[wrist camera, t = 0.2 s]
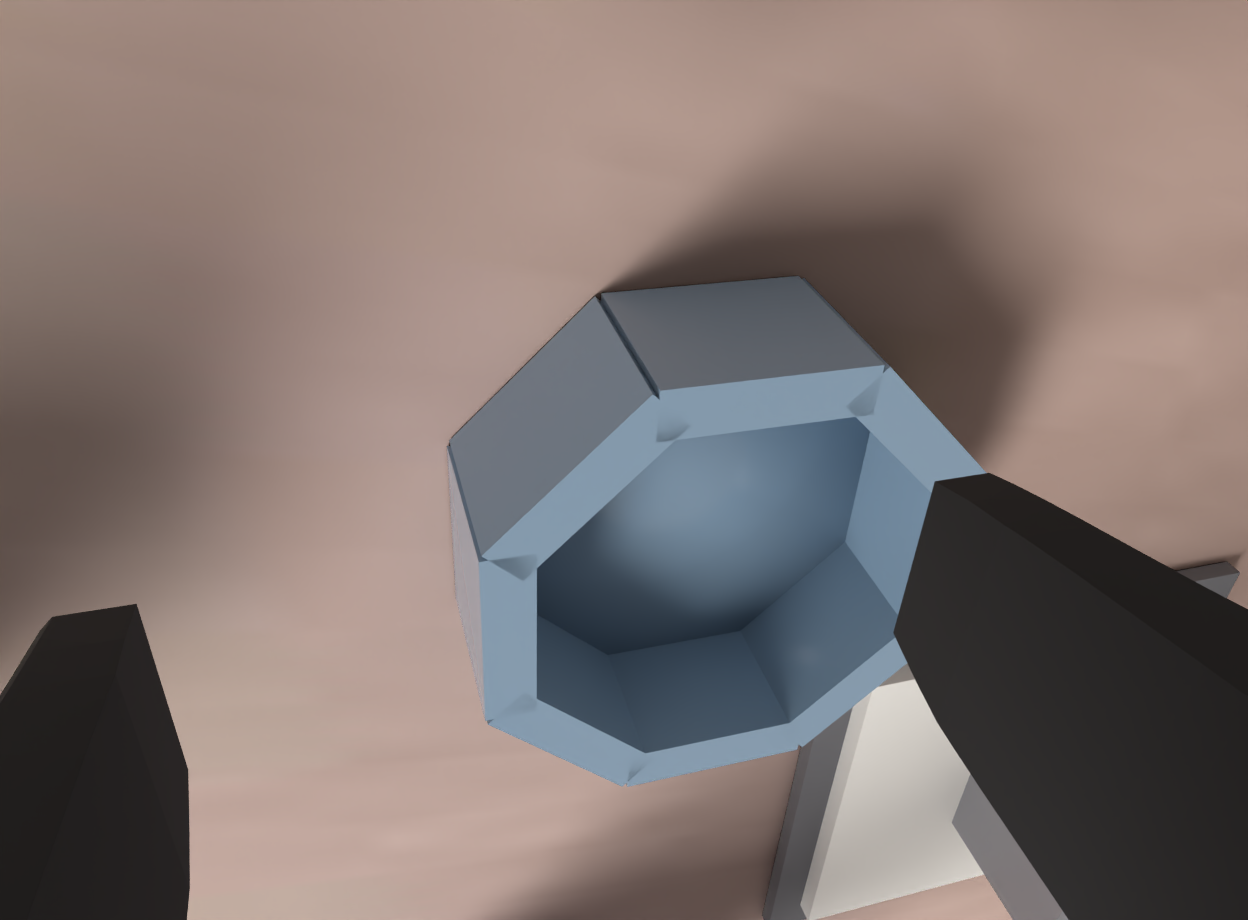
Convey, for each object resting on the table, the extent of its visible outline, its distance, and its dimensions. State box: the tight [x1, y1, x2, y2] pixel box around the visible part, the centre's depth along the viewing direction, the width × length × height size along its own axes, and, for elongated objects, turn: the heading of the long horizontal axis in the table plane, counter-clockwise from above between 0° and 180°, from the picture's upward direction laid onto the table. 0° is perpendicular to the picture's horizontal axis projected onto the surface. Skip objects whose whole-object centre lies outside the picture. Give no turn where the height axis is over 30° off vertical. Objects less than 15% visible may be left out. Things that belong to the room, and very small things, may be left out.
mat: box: [762, 562, 1240, 920], centre depth 32 cm, size 13×13×1 cm
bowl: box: [447, 276, 986, 787], centre depth 21 cm, size 10×10×4 cm
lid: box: [800, 663, 1068, 920], centre depth 30 cm, size 11×11×5 cm
